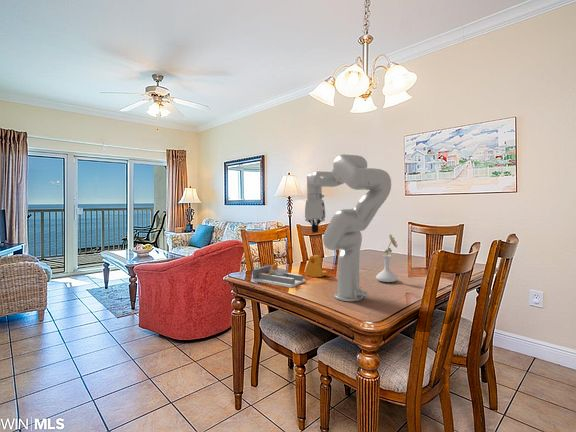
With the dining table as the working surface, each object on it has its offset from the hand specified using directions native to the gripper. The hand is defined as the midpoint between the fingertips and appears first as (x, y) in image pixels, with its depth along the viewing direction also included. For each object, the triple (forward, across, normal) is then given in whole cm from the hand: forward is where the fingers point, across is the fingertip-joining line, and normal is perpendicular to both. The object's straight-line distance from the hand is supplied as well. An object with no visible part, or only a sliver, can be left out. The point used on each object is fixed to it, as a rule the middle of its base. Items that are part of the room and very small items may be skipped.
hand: (315, 232), depth 162 cm
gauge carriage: (+25, +19, +5) cm, 32 cm away
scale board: (+26, +20, +5) cm, 33 cm away
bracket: (+27, +8, -16) cm, 32 cm away
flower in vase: (+27, -31, -24) cm, 48 cm away
